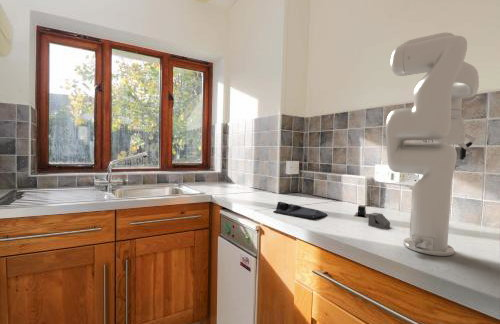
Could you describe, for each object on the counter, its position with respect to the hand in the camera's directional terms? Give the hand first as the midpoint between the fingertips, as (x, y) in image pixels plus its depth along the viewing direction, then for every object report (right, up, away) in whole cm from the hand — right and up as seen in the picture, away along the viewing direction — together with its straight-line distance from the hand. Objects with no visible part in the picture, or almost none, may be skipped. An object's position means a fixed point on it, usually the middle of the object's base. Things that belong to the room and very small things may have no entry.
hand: (446, 158), depth 106 cm
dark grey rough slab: (-55, -25, +15) cm, 63 cm away
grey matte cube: (-28, -26, -3) cm, 38 cm away
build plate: (-27, -26, +15) cm, 40 cm away
